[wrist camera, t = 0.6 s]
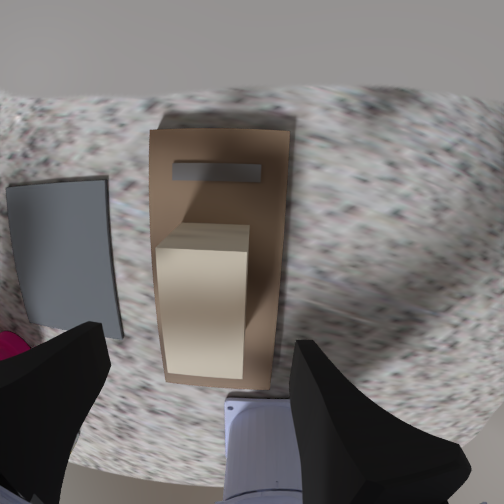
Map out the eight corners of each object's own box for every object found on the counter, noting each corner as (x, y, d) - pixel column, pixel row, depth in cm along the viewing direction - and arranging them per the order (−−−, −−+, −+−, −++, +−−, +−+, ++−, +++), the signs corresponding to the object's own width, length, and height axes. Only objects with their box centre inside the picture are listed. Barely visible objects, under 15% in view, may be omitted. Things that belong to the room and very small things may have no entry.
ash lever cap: (245, 329, 20) (242, 379, 15) (185, 325, 20) (167, 372, 15) (249, 225, 18) (246, 252, 13) (181, 222, 18) (155, 248, 13)
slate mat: (123, 337, 22) (122, 339, 22) (31, 320, 22) (29, 322, 22) (106, 179, 18) (104, 180, 18) (8, 187, 18) (5, 187, 18)
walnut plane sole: (269, 379, 23) (269, 391, 21) (169, 372, 23) (165, 383, 21) (287, 132, 17) (290, 130, 16) (156, 131, 17) (148, 129, 16)
